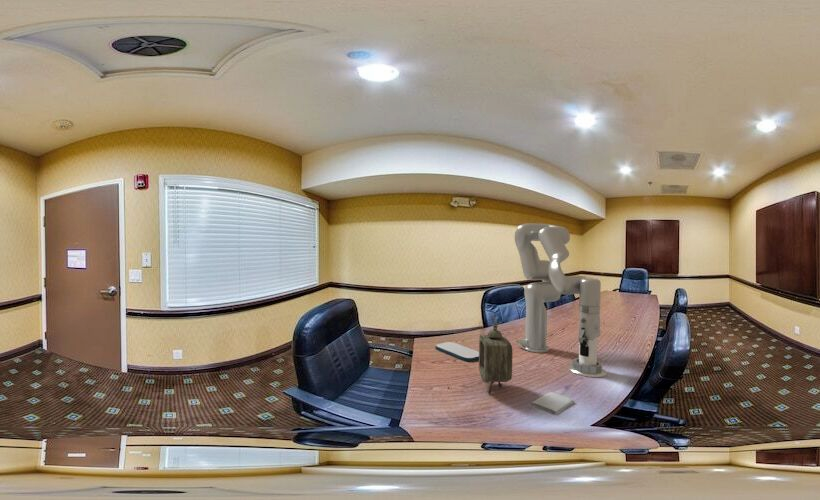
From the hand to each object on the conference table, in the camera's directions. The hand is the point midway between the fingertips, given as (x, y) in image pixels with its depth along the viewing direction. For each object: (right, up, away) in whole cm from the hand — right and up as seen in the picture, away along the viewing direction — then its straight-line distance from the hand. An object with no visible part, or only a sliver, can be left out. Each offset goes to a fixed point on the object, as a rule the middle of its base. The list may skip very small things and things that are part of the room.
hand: (588, 353), depth 148 cm
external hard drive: (-49, -6, +21) cm, 53 cm away
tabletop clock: (-41, -7, -17) cm, 45 cm away
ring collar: (0, -7, 0) cm, 7 cm away
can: (0, -4, 0) cm, 4 cm away
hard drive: (-25, -9, -29) cm, 39 cm away
